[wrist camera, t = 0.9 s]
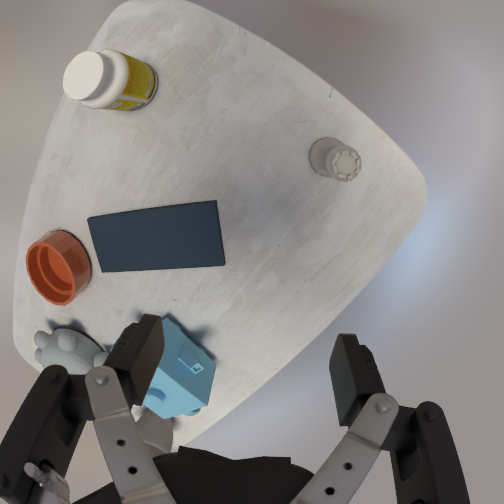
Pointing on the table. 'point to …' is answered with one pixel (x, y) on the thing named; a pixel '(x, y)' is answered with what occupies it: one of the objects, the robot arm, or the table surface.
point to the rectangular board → (159, 238)
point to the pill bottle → (109, 80)
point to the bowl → (58, 267)
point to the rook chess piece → (335, 159)
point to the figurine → (68, 351)
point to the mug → (156, 433)
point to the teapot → (180, 376)
